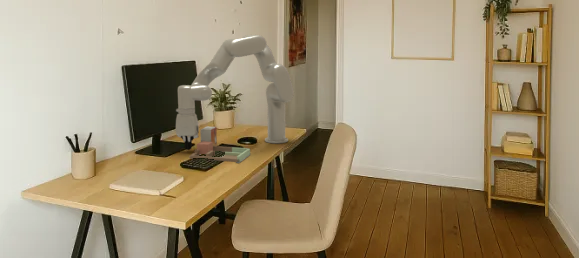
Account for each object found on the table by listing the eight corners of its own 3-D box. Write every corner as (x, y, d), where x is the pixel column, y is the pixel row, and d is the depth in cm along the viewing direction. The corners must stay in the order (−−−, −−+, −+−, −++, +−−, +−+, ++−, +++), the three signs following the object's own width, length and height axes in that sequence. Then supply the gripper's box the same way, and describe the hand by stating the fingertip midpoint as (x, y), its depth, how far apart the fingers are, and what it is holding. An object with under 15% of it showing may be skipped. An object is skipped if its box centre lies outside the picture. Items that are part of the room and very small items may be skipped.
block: (202, 151, 207) (202, 141, 206) (213, 152, 206) (212, 141, 205) (197, 154, 202) (197, 143, 201) (208, 154, 201) (207, 144, 200)
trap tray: (203, 151, 209) (203, 145, 209) (250, 154, 204) (250, 148, 203) (189, 159, 195) (189, 152, 194) (238, 163, 189) (238, 156, 189)
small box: (211, 150, 211) (210, 129, 209) (200, 150, 212) (200, 129, 210) (217, 146, 218) (216, 126, 216) (207, 146, 219) (206, 126, 217)
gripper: (168, 112, 200) (170, 150, 204) (197, 113, 197) (199, 152, 200) (176, 109, 208) (178, 146, 211) (204, 111, 204) (206, 148, 208)
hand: (188, 149), depth 206 cm, fingers closed
